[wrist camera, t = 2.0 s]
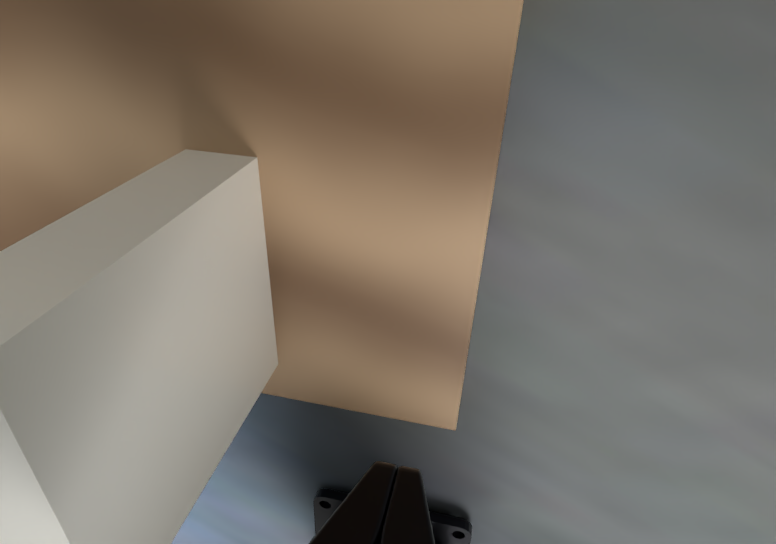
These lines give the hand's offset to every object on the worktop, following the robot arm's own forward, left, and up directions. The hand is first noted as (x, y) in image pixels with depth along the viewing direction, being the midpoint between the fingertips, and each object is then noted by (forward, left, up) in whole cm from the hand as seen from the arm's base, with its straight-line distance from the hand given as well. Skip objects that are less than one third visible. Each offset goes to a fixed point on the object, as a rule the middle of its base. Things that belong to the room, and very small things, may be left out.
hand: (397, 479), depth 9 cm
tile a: (0, +6, -6) cm, 8 cm away
